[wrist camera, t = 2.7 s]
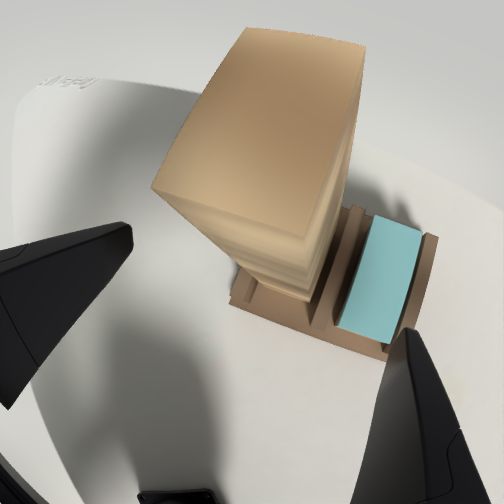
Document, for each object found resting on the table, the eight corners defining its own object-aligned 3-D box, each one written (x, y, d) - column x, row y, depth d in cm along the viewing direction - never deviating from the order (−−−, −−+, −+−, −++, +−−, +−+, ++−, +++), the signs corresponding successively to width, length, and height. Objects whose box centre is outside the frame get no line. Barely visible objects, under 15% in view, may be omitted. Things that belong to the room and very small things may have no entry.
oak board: (309, 303, 18) (303, 236, 5) (265, 287, 19) (149, 187, 5) (335, 232, 19) (365, 46, 5) (291, 218, 19) (246, 27, 6)
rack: (389, 363, 17) (403, 369, 14) (232, 304, 20) (219, 301, 17) (426, 243, 18) (443, 230, 15) (277, 192, 21) (272, 172, 18)
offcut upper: (383, 342, 15) (389, 344, 14) (335, 326, 16) (338, 326, 15) (414, 239, 16) (422, 232, 15) (370, 223, 17) (374, 214, 15)
